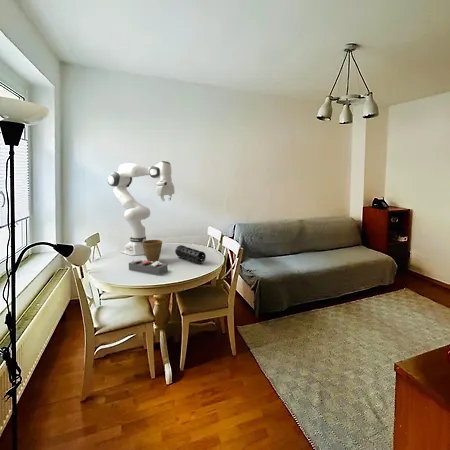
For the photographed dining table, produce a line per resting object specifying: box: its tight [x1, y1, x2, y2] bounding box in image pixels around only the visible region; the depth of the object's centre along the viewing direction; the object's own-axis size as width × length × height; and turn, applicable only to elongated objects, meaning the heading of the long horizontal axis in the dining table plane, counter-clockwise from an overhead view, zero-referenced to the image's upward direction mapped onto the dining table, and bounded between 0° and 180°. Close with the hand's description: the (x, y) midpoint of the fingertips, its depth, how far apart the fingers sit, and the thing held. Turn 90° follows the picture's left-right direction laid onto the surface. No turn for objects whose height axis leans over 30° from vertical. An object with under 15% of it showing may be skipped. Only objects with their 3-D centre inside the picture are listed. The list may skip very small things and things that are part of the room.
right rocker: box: [151, 260, 161, 267], centre depth 204 cm, size 3×6×2 cm, turn 155°
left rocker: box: [132, 259, 143, 263], centre depth 211 cm, size 3×6×2 cm, turn 155°
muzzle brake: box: [174, 244, 206, 265], centre depth 233 cm, size 10×28×10 cm, turn 45°
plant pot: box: [142, 239, 163, 262], centre depth 229 cm, size 15×15×16 cm
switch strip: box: [128, 259, 169, 276], centre depth 209 cm, size 26×10×5 cm, turn 65°
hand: (166, 200), depth 231 cm, fingers open, 8 cm apart
